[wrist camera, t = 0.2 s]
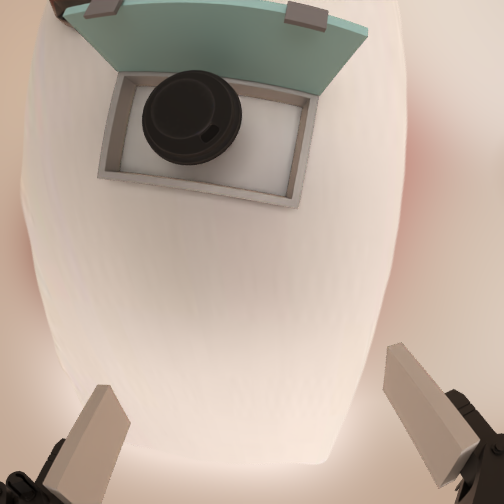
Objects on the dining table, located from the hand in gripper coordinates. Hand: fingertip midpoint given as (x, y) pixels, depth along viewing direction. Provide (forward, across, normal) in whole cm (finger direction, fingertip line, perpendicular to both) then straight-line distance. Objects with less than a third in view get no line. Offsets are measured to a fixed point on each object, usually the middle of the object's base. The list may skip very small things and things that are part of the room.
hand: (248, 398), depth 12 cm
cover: (+25, 0, +23) cm, 34 cm away
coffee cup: (+30, -2, +16) cm, 34 cm away
